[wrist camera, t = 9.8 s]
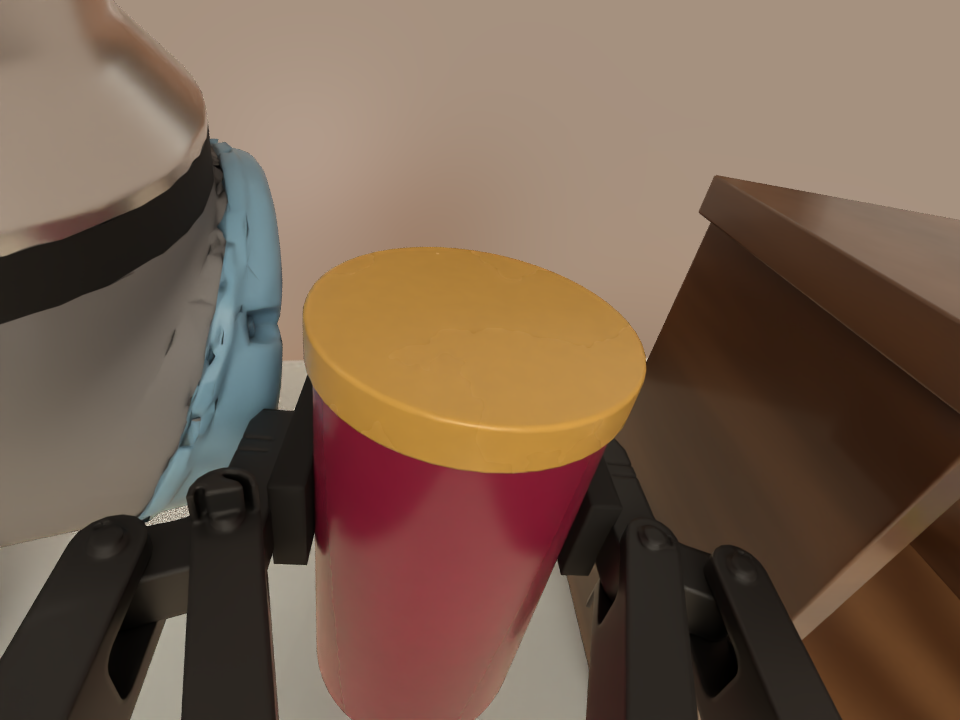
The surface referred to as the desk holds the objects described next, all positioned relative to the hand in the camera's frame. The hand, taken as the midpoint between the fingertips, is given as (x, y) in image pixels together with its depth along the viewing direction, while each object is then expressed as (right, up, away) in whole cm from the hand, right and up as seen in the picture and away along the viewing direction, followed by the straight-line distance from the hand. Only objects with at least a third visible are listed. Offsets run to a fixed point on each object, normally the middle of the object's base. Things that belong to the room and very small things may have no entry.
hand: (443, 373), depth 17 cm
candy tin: (-1, -8, 0) cm, 8 cm away
